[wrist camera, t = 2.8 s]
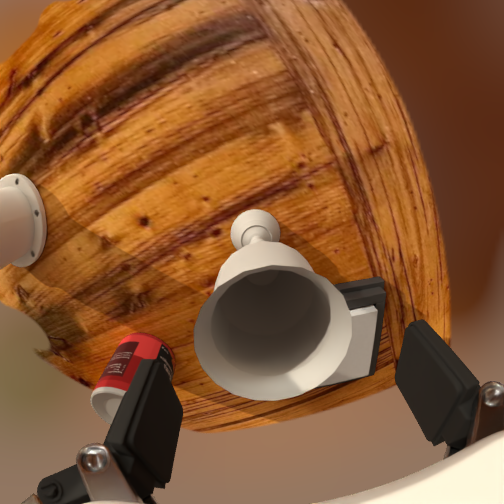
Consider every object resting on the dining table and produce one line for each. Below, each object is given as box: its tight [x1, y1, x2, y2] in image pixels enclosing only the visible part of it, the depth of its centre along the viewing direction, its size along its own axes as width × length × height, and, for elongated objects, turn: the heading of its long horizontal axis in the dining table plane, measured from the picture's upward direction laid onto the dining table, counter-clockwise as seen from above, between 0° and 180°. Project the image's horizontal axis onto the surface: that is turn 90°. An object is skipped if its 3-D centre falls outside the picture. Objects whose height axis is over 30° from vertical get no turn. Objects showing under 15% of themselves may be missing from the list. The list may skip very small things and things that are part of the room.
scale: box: [313, 277, 386, 389], centre depth 31 cm, size 14×14×3 cm
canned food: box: [91, 333, 176, 425], centre depth 28 cm, size 8×8×11 cm
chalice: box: [194, 209, 352, 401], centre depth 20 cm, size 7×7×18 cm
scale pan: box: [317, 304, 378, 387], centre depth 29 cm, size 10×10×2 cm
